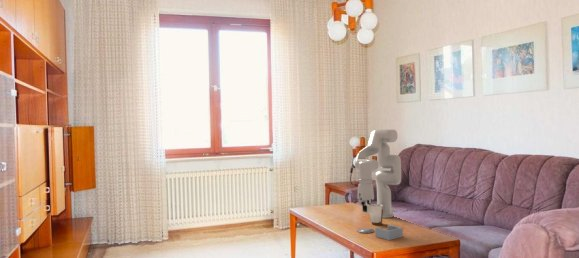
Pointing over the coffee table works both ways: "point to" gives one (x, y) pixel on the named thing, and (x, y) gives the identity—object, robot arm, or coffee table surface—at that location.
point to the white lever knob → (374, 212)
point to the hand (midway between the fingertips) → (366, 210)
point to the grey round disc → (365, 230)
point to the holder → (389, 232)
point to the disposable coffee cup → (381, 215)
